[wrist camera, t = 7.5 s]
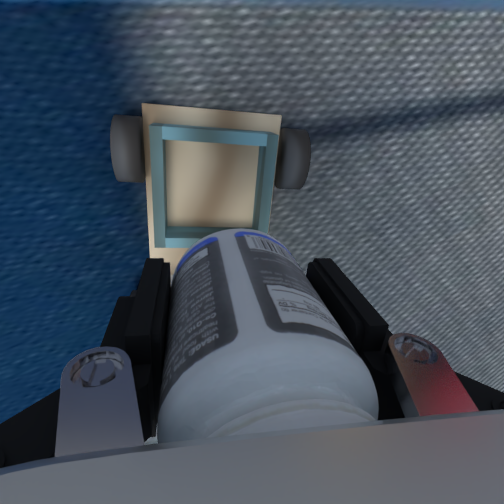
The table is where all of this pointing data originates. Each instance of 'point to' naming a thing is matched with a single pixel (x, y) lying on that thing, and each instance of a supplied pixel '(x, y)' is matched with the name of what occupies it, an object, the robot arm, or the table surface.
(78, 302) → the table surface
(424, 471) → the robot arm
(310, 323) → the pill bottle
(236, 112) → the toy car chassis
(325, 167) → the table surface
